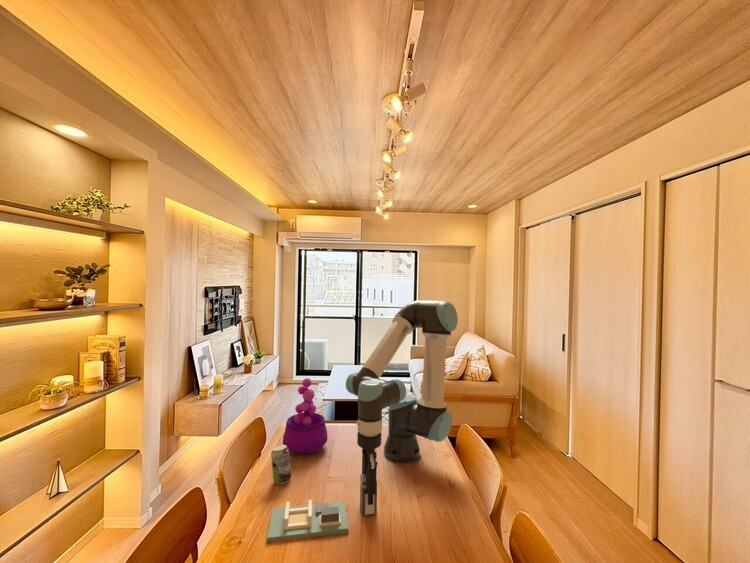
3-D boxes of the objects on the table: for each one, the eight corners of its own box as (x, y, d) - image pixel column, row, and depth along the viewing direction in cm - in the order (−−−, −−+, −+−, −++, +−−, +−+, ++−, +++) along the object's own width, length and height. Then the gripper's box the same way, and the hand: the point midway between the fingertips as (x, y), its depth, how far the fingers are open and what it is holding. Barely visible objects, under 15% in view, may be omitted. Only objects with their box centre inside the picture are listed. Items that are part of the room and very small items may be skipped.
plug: (374, 504, 105) (374, 472, 105) (376, 514, 100) (377, 480, 100) (359, 505, 104) (360, 473, 104) (361, 515, 99) (362, 482, 100)
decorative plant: (336, 449, 140) (337, 378, 141) (298, 465, 127) (300, 387, 128) (310, 435, 154) (312, 370, 155) (274, 448, 141) (276, 377, 141)
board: (344, 505, 104) (344, 491, 104) (348, 532, 92) (348, 517, 92) (272, 512, 100) (272, 498, 100) (266, 542, 88) (267, 526, 88)
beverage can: (286, 487, 113) (287, 452, 113) (266, 484, 114) (267, 449, 114) (294, 477, 119) (295, 444, 119) (275, 475, 120) (276, 441, 121)
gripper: (354, 421, 111) (352, 491, 110) (361, 445, 93) (360, 529, 93) (375, 420, 112) (374, 489, 111) (387, 443, 95) (386, 526, 94)
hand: (368, 507), depth 102 cm, fingers closed on plug, 4 cm apart
